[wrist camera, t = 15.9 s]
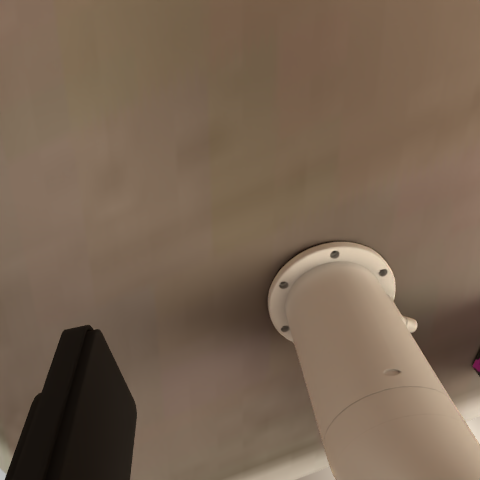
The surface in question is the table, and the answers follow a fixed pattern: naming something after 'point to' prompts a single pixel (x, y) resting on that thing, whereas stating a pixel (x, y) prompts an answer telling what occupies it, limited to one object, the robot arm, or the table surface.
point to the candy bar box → (477, 364)
